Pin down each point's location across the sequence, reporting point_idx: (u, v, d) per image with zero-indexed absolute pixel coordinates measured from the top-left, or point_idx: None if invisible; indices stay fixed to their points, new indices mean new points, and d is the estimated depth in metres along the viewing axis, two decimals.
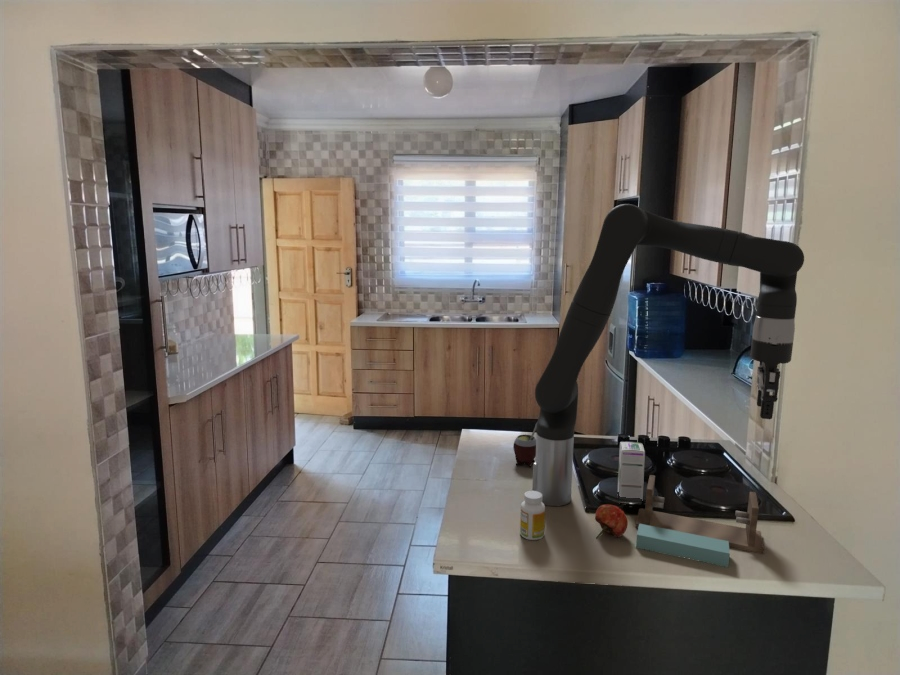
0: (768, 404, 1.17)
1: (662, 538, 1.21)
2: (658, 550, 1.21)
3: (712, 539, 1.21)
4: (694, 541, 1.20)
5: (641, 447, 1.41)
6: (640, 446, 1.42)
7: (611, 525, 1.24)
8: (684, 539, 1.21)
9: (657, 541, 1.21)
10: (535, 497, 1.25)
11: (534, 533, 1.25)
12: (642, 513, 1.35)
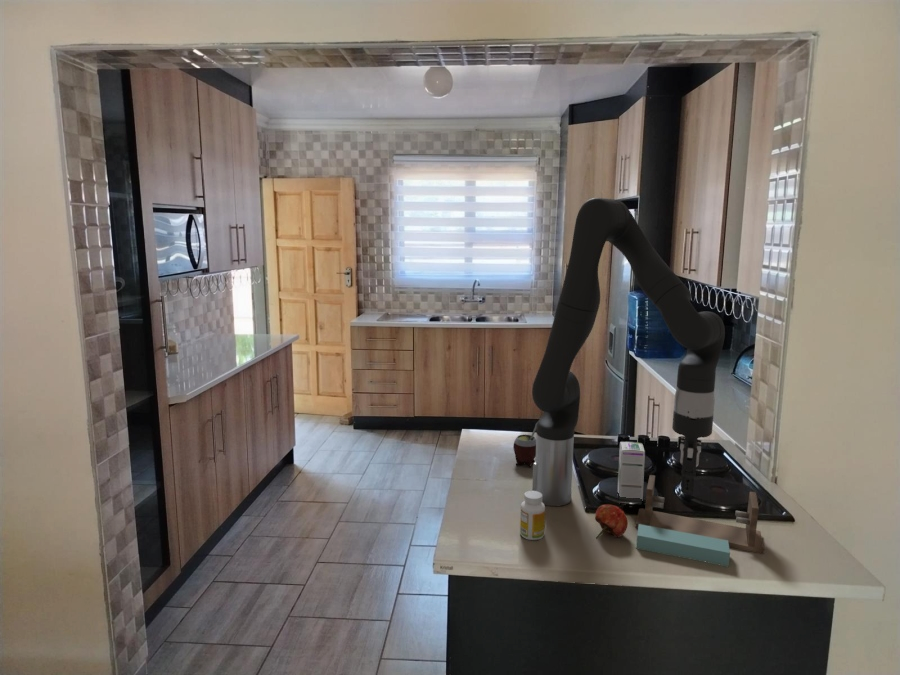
0: (688, 479, 1.14)
1: (662, 538, 1.21)
2: (658, 550, 1.21)
3: (712, 539, 1.21)
4: (694, 541, 1.20)
5: (641, 447, 1.41)
6: (640, 446, 1.42)
7: (611, 525, 1.24)
8: (684, 539, 1.21)
9: (658, 541, 1.21)
10: (535, 497, 1.25)
11: (534, 533, 1.25)
12: (642, 513, 1.35)
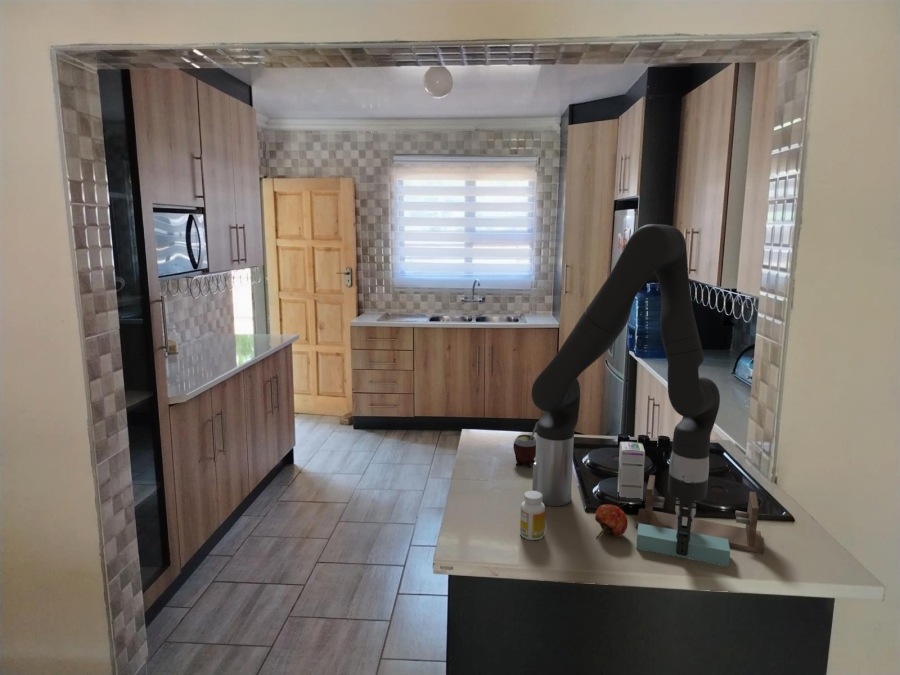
0: (683, 542, 1.17)
1: (662, 537, 1.21)
2: (658, 549, 1.21)
3: (712, 537, 1.21)
4: (694, 540, 1.20)
5: (641, 447, 1.41)
6: (640, 446, 1.42)
7: (611, 525, 1.24)
8: None
9: (658, 540, 1.20)
10: (535, 497, 1.25)
11: (534, 533, 1.25)
12: (642, 513, 1.35)
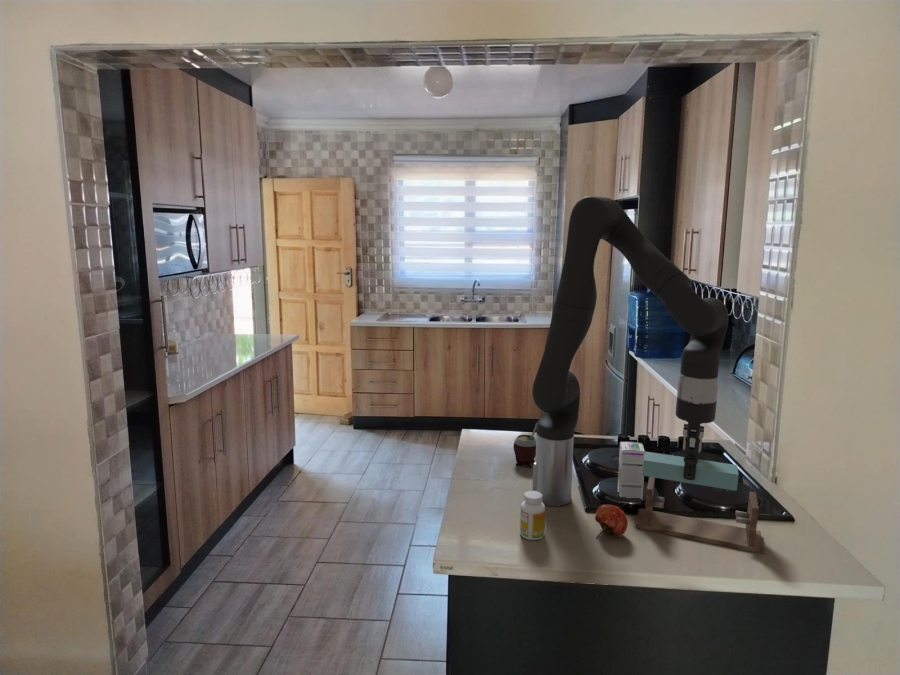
0: (690, 465, 1.15)
1: (669, 463, 1.19)
2: (665, 475, 1.19)
3: (720, 463, 1.18)
4: (701, 465, 1.18)
5: (641, 447, 1.41)
6: (640, 446, 1.42)
7: (611, 525, 1.24)
8: None
9: (665, 465, 1.19)
10: (535, 497, 1.25)
11: (534, 533, 1.25)
12: (642, 513, 1.35)
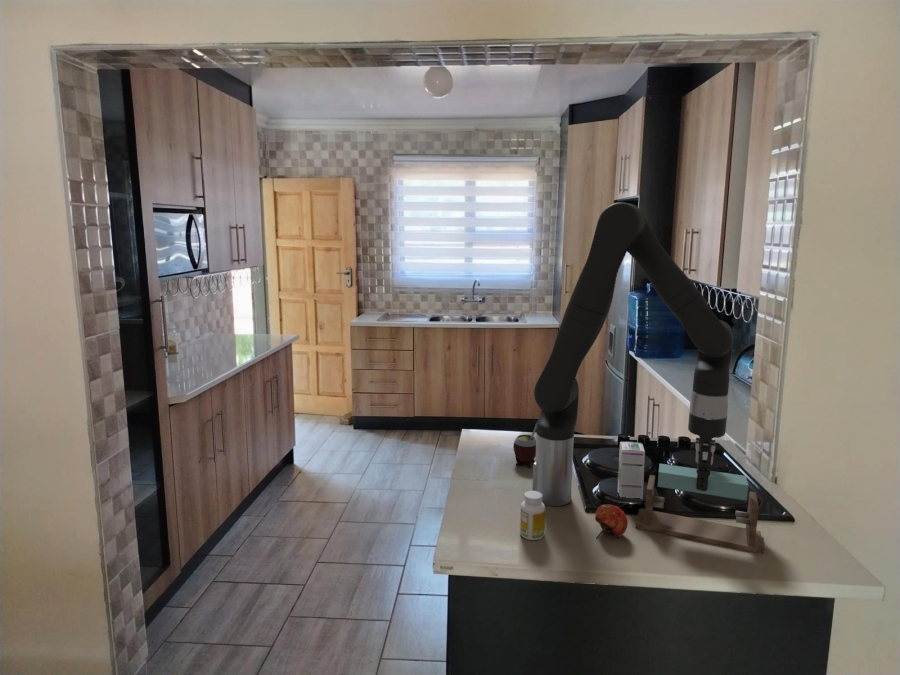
0: (703, 477, 1.23)
1: (683, 474, 1.26)
2: (679, 486, 1.27)
3: (730, 474, 1.26)
4: (713, 476, 1.26)
5: (641, 447, 1.41)
6: (640, 446, 1.42)
7: (611, 525, 1.24)
8: None
9: (679, 477, 1.26)
10: (535, 497, 1.25)
11: (534, 533, 1.25)
12: (642, 513, 1.35)
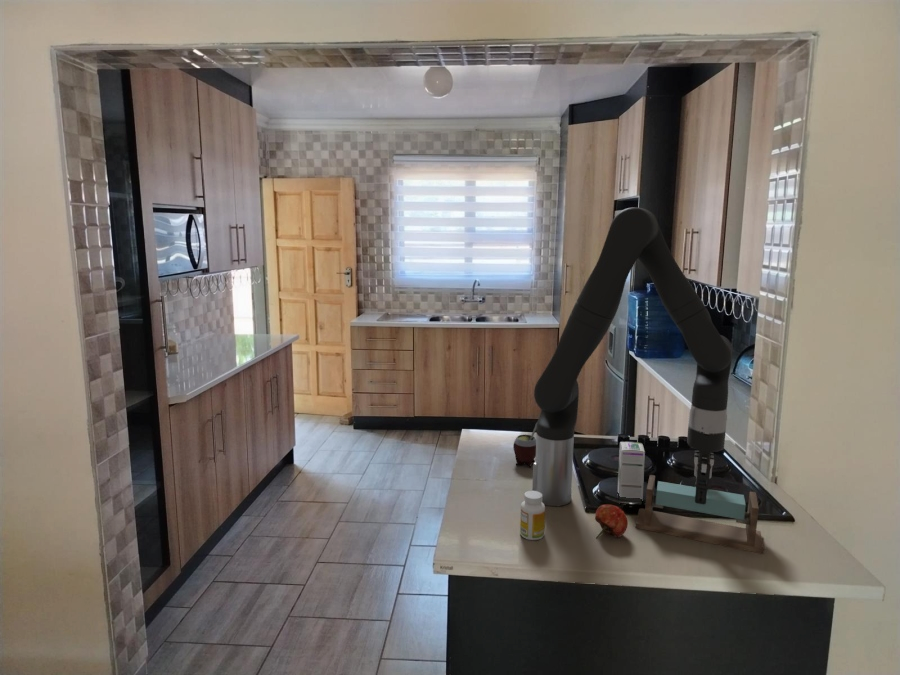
0: (701, 491, 1.23)
1: (681, 493, 1.27)
2: (677, 504, 1.28)
3: (728, 493, 1.27)
4: (711, 495, 1.26)
5: (641, 447, 1.41)
6: (640, 445, 1.42)
7: (611, 525, 1.24)
8: None
9: (677, 495, 1.27)
10: (535, 497, 1.25)
11: (534, 533, 1.25)
12: (642, 513, 1.35)
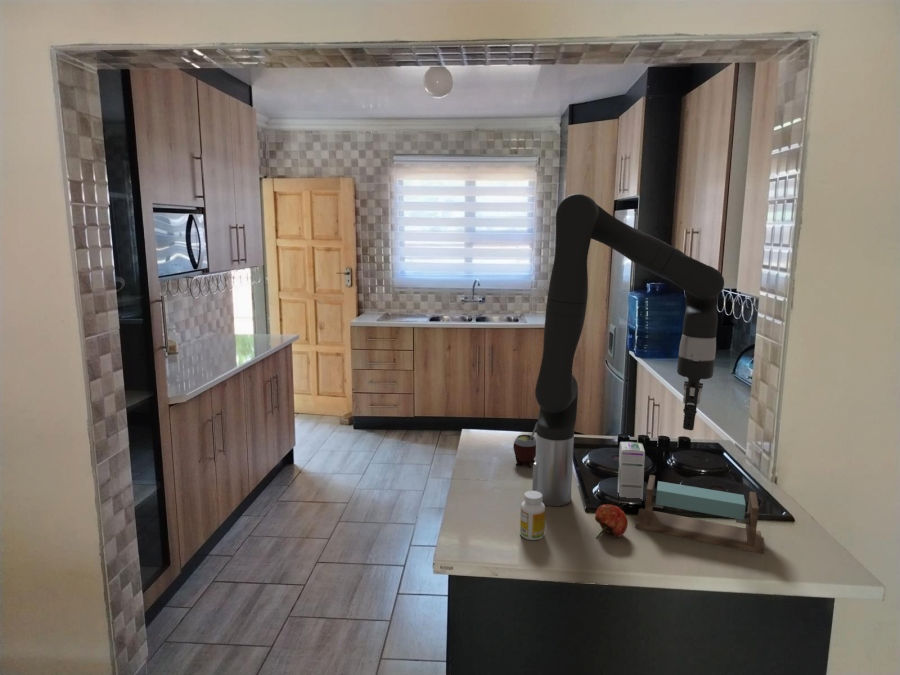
0: (689, 416, 1.26)
1: (681, 493, 1.27)
2: (677, 504, 1.28)
3: (728, 493, 1.27)
4: (711, 495, 1.26)
5: (641, 447, 1.41)
6: (640, 445, 1.42)
7: (611, 525, 1.24)
8: (701, 493, 1.27)
9: (677, 495, 1.27)
10: (535, 497, 1.25)
11: (534, 533, 1.25)
12: (642, 513, 1.35)
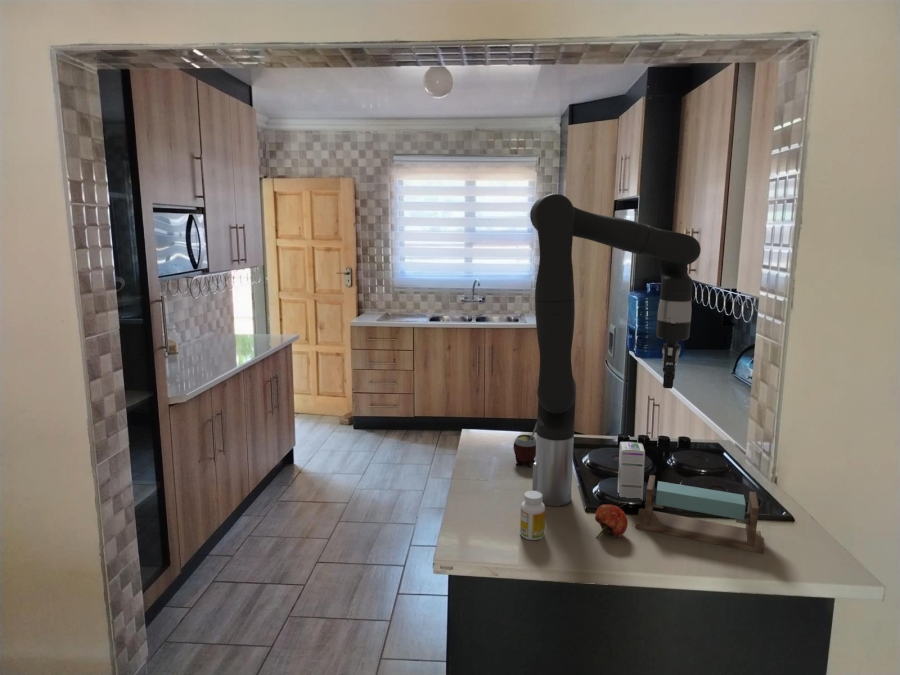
0: (668, 375, 1.35)
1: (681, 493, 1.27)
2: (677, 504, 1.28)
3: (728, 493, 1.27)
4: (711, 495, 1.26)
5: (641, 447, 1.41)
6: (640, 445, 1.42)
7: (611, 525, 1.24)
8: (701, 493, 1.27)
9: (677, 495, 1.27)
10: (535, 497, 1.25)
11: (534, 533, 1.25)
12: (642, 513, 1.35)
